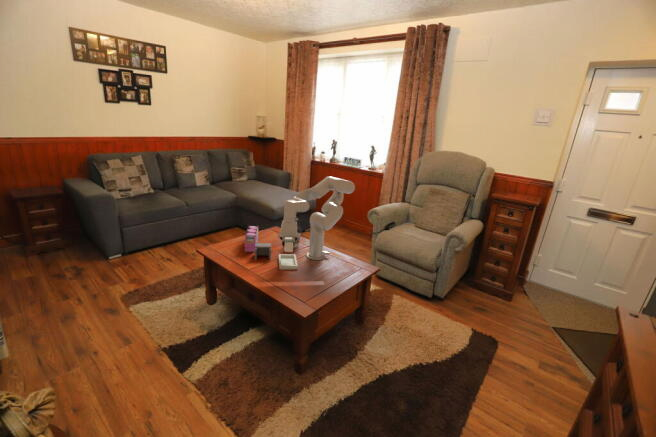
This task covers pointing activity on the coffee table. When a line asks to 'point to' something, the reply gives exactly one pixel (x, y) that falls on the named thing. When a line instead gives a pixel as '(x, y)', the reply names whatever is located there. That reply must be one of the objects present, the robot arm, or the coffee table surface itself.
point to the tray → (287, 262)
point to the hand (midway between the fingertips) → (288, 246)
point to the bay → (262, 249)
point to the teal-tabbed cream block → (288, 244)
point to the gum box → (251, 238)
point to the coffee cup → (298, 238)
